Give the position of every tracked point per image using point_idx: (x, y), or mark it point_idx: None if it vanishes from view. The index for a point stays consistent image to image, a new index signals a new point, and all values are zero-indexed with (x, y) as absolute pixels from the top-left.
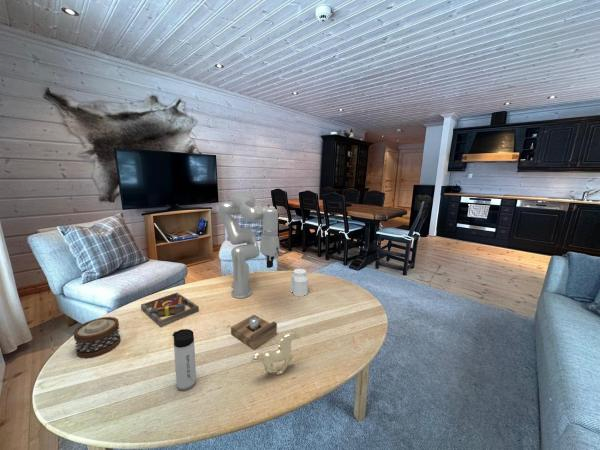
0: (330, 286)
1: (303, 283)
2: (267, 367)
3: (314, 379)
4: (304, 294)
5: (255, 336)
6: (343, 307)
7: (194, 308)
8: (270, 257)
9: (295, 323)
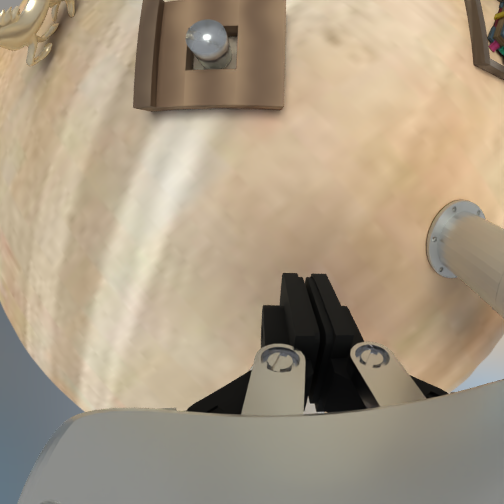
0: None
1: None
2: None
3: (3, 84)
4: None
5: (142, 4)
6: (114, 373)
7: (482, 49)
8: (258, 402)
9: (145, 210)
